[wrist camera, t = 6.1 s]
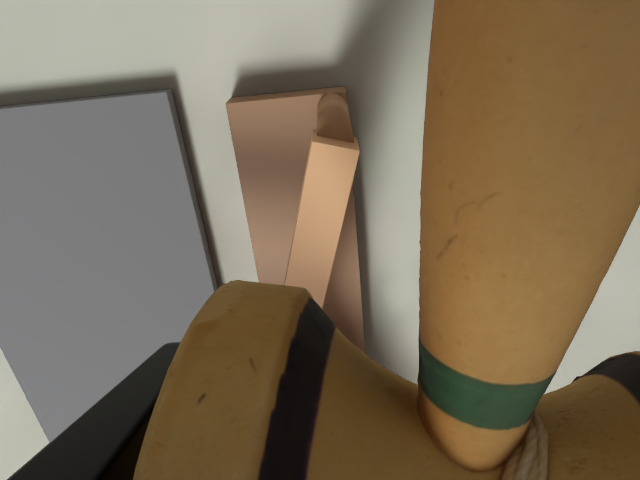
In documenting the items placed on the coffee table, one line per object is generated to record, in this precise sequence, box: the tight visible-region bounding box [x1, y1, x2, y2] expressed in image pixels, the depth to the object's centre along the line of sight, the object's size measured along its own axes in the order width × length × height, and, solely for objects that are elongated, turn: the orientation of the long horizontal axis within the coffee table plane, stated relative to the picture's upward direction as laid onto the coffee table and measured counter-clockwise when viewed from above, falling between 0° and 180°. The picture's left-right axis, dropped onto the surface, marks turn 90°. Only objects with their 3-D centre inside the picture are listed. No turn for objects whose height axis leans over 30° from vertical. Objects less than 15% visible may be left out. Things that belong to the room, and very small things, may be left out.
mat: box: [0, 89, 218, 442], centre depth 22 cm, size 22×10×1 cm, turn 6°
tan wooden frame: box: [226, 86, 365, 353], centre depth 19 cm, size 21×4×6 cm, turn 6°
